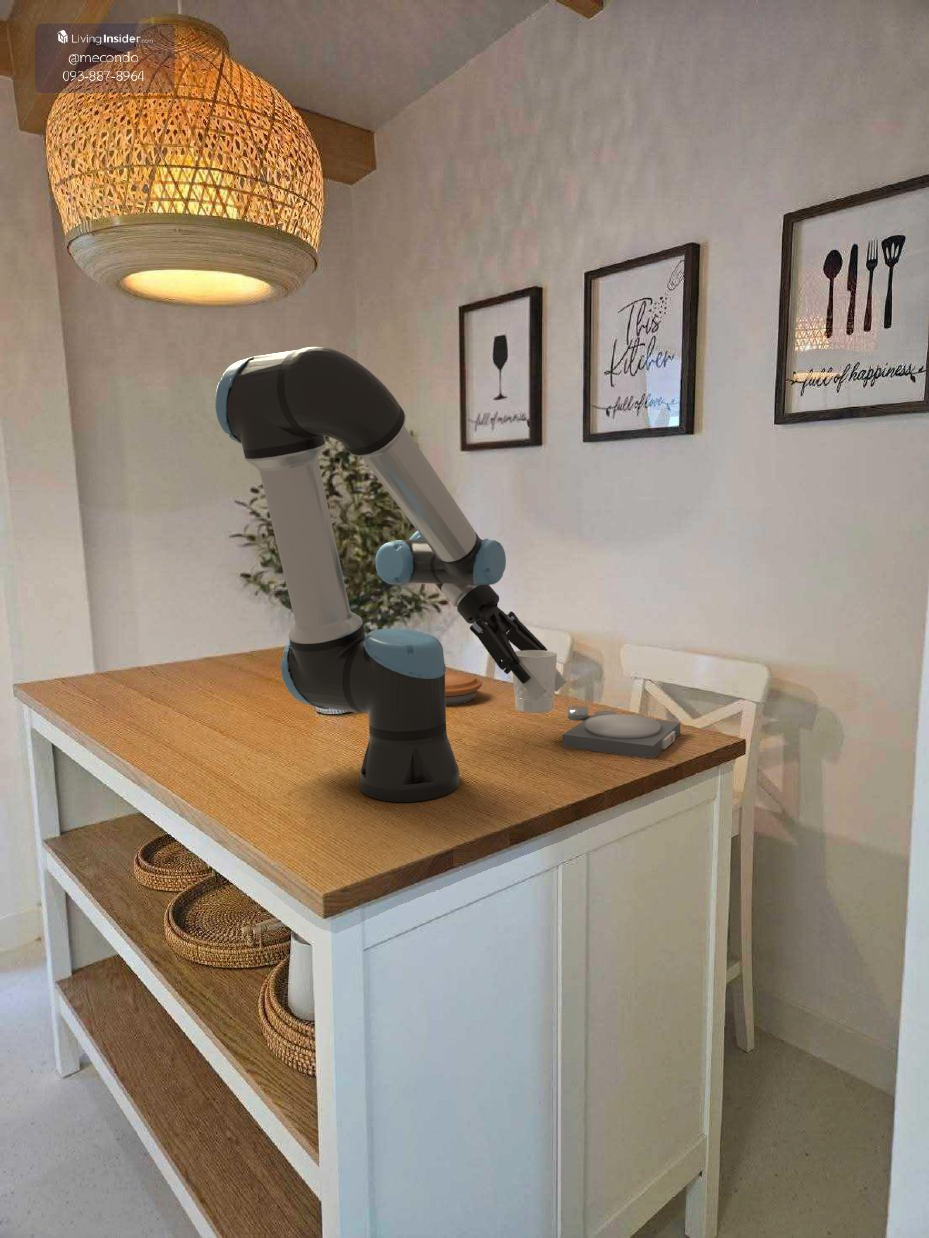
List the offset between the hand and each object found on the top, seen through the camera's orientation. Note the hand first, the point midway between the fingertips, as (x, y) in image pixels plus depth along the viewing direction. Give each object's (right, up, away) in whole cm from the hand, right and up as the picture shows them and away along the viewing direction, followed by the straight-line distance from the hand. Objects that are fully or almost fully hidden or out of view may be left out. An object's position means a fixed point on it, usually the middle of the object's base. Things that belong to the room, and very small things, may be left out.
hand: (551, 690), depth 142 cm
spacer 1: (+7, -7, +17) cm, 20 cm away
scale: (+13, -9, +2) cm, 16 cm away
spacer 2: (+12, -7, +14) cm, 19 cm away
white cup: (-3, -4, +2) cm, 5 cm away
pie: (-19, -5, +36) cm, 41 cm away
